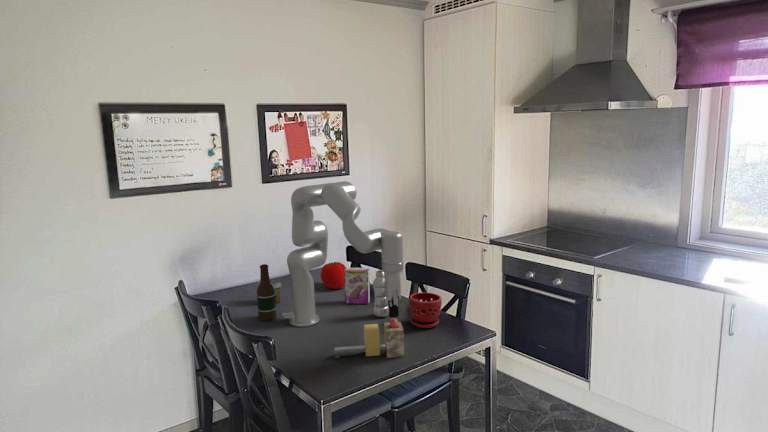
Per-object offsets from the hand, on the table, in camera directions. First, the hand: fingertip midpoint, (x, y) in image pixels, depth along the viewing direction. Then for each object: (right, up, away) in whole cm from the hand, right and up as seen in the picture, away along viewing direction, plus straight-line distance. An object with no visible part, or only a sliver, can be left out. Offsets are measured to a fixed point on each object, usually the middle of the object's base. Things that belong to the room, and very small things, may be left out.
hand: (393, 316), depth 181 cm
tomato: (-29, -1, +79) cm, 84 cm away
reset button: (0, -5, +1) cm, 6 cm away
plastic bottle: (-5, -8, +38) cm, 39 cm away
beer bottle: (-54, -9, +38) cm, 67 cm away
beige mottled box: (0, -14, +3) cm, 14 cm away
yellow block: (-8, -13, +2) cm, 16 cm away
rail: (-12, -14, +1) cm, 18 cm away
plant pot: (+14, -9, +28) cm, 32 cm away
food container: (-58, -5, +57) cm, 82 cm away
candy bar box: (-16, -5, +55) cm, 58 cm away
